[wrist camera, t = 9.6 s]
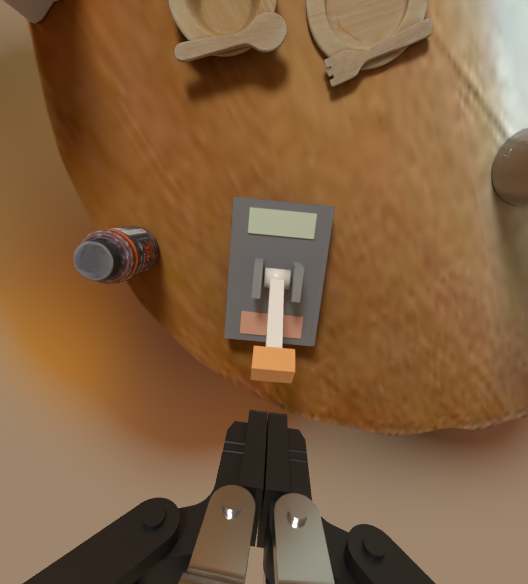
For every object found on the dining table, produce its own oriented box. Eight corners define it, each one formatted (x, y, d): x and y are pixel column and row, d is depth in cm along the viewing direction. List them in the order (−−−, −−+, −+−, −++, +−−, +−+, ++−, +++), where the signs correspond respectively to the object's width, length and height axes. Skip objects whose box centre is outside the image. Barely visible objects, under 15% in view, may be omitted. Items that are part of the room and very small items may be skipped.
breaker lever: (294, 266, 38) (295, 372, 29) (291, 279, 40) (291, 383, 31) (261, 262, 38) (251, 368, 29) (260, 276, 40) (250, 379, 31)
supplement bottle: (160, 272, 43) (124, 294, 32) (116, 269, 43) (64, 289, 32) (160, 227, 41) (121, 234, 30) (114, 223, 41) (59, 229, 30)
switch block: (329, 206, 40) (342, 206, 34) (311, 337, 45) (319, 360, 38) (236, 197, 40) (229, 195, 33) (227, 329, 45) (219, 351, 38)
